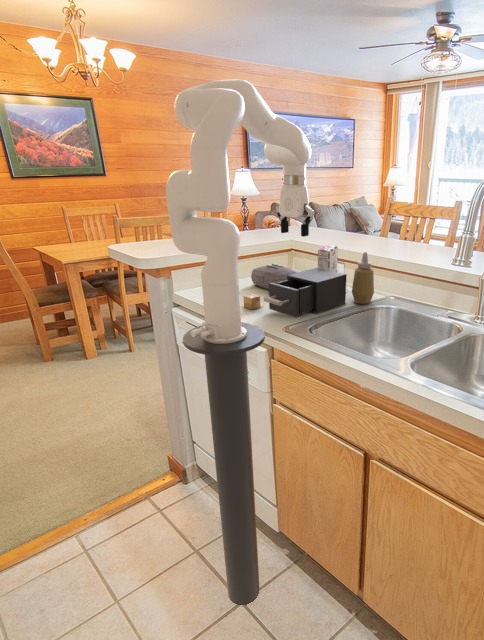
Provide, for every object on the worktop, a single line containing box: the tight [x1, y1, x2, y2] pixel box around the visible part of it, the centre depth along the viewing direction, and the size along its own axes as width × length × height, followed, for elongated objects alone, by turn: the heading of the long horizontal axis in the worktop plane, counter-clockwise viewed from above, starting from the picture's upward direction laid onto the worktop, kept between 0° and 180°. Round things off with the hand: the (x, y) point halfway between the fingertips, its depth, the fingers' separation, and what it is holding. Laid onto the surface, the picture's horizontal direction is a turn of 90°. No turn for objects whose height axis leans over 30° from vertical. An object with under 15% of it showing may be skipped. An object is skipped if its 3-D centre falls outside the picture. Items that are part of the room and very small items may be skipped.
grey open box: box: [287, 267, 348, 315], centre depth 154 cm, size 16×14×11 cm
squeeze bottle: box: [351, 251, 375, 305], centre depth 156 cm, size 8×8×18 cm
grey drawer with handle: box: [263, 279, 315, 318], centre depth 145 cm, size 20×13×9 cm, turn 139°
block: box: [243, 293, 261, 311], centre depth 151 cm, size 4×4×4 cm
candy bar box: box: [317, 244, 339, 272], centre depth 171 cm, size 11×5×16 cm, turn 161°
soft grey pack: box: [250, 263, 298, 290], centre depth 175 cm, size 15×8×20 cm
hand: (294, 234), depth 152 cm, fingers open, 9 cm apart
